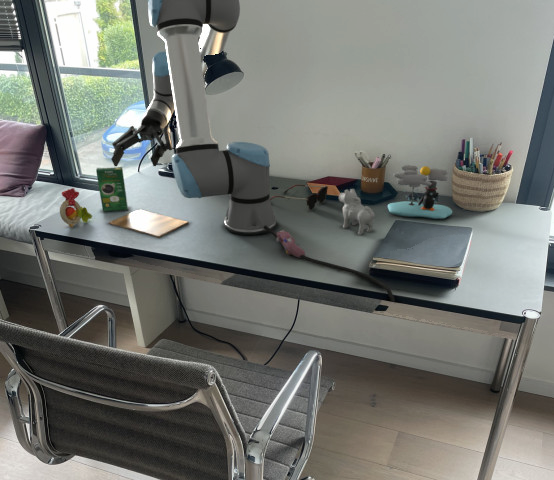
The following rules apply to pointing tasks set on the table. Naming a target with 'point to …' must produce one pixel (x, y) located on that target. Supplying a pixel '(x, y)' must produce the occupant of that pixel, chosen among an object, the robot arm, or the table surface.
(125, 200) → the coffee box
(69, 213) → the bird rattle
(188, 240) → the table surface
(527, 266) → the table surface
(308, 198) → the sunglasses
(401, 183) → the penguin figurine
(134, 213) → the wooden board
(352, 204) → the dog figurine
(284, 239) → the pink animal figurine
